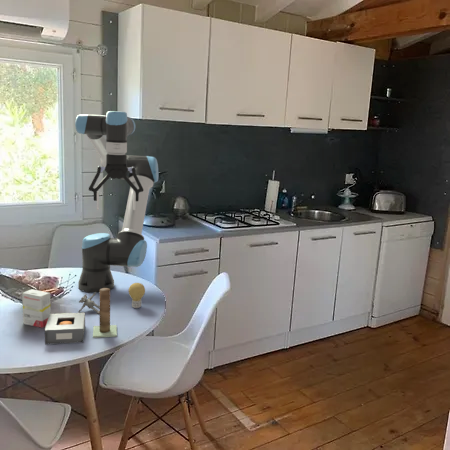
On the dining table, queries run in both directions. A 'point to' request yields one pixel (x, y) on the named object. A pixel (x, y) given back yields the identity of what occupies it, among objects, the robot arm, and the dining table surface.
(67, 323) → the button
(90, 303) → the elephant figurine
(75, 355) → the dining table surface
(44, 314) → the ink box
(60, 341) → the grey square holder
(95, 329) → the mat
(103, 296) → the walnut dowel
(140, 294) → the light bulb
